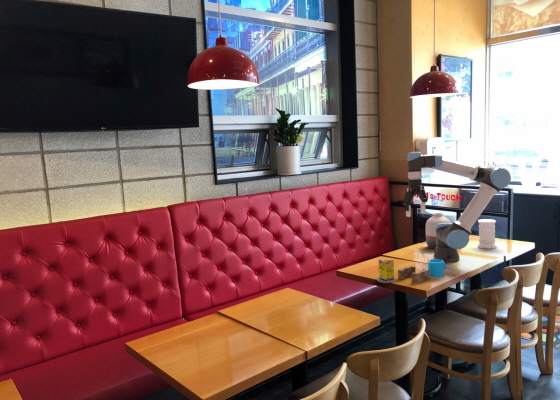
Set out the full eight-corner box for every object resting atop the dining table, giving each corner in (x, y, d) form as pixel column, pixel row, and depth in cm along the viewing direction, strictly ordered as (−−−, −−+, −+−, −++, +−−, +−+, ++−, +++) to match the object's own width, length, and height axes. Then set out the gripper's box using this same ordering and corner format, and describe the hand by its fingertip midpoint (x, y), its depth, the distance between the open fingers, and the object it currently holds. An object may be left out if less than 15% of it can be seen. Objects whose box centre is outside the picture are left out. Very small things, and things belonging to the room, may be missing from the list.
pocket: (411, 274, 250) (410, 265, 249) (429, 278, 240) (429, 269, 240) (398, 278, 244) (398, 269, 243) (416, 283, 234) (416, 274, 233)
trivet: (385, 276, 249) (385, 275, 249) (399, 280, 241) (399, 278, 241) (373, 280, 244) (373, 279, 243) (387, 284, 235) (387, 283, 235)
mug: (437, 278, 240) (437, 263, 239) (425, 275, 247) (424, 261, 246) (451, 273, 246) (451, 259, 245) (439, 271, 253) (438, 257, 252)
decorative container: (482, 244, 309) (481, 218, 307) (499, 246, 300) (499, 219, 298) (474, 247, 301) (474, 221, 299) (492, 249, 293) (492, 222, 291)
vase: (424, 245, 317) (423, 212, 314) (448, 244, 314) (448, 211, 312) (428, 250, 300) (427, 216, 298) (454, 249, 298) (454, 215, 295)
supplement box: (386, 281, 238) (385, 261, 237) (378, 278, 244) (378, 259, 242) (394, 279, 241) (393, 259, 240) (386, 276, 246) (386, 257, 245)
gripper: (422, 176, 267) (423, 211, 269) (395, 180, 252) (396, 217, 255) (433, 176, 260) (434, 212, 263) (406, 180, 246) (407, 218, 249)
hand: (415, 214), depth 259 cm, fingers open, 13 cm apart
